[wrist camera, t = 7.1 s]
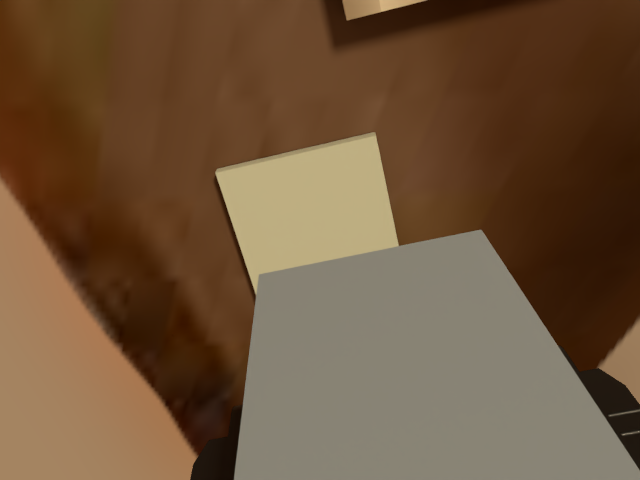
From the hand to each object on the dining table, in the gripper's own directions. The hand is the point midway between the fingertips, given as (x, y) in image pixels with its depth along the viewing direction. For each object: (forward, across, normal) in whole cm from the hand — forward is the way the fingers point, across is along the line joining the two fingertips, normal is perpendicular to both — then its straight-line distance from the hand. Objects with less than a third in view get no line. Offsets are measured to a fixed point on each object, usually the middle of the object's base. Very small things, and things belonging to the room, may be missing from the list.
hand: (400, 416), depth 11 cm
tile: (+21, +2, +8) cm, 22 cm away
